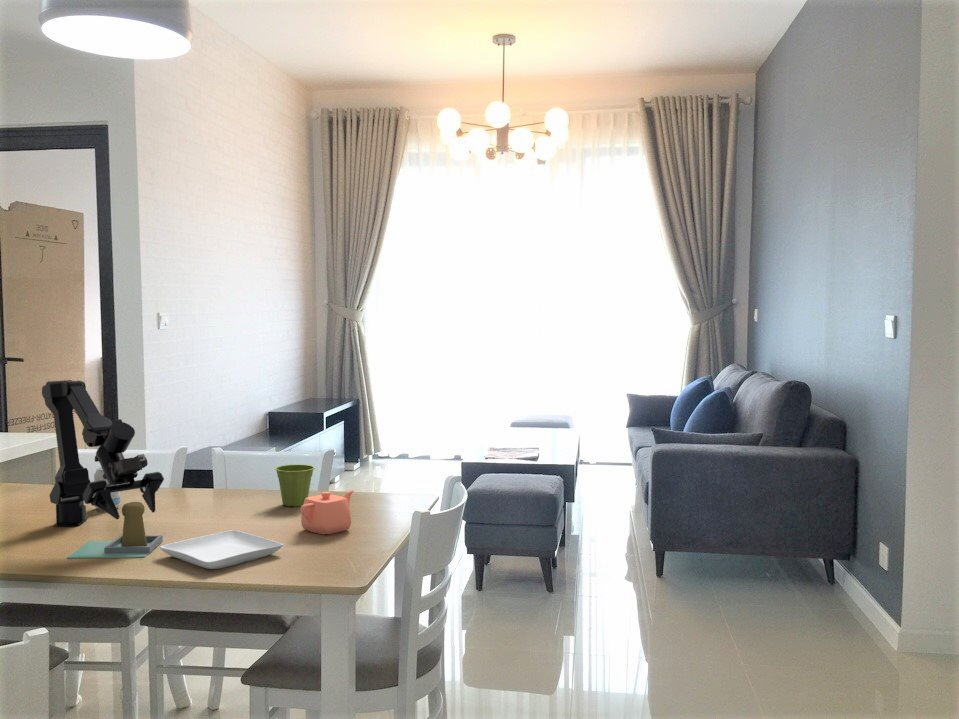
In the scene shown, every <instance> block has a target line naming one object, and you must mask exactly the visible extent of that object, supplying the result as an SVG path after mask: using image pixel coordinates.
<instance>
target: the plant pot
mask: <svg viewBox="0 0 959 719" xmlns="http://www.w3.org/2000/svg"><path fill="white" fill-rule="evenodd" d="M315 469H316V467H315V466H313V465H311V464H285V465H278V466H276V467H274V470H275V471H276V474H277V479H278V484H279V488H280V489H279V490H280V496H281V501H282V505H283V506H284V505H285V506H287V507H290V506H294V507H296V506H298V507H301V506H302V505H304V501H305V498H307V497H309V495H310V488H311V482H312V477H313V474H314V473H313V472H314V470H315Z"/></svg>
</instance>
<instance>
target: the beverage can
mask: <svg viewBox="0 0 959 719" xmlns="http://www.w3.org/2000/svg"><path fill="white" fill-rule="evenodd" d="M103 474H104V471H103V469H102V467H101V466H100V467H97V468H96V470H95V472H94V474H93V482H94V481H101V480H104V481H106V483H107V485H109V483H108V481H107V479H104V478H103ZM111 498H112V500H113V502H114V504H115V506H116V508H117V509H118V507H119V506H120V505H121V492H112V493H111ZM94 508H96V509H98V511H104V510H102V509H101V508H99V507H97V506H94ZM104 512H105V511H104Z"/></svg>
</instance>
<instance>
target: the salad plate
mask: <svg viewBox="0 0 959 719" xmlns="http://www.w3.org/2000/svg"><path fill="white" fill-rule="evenodd" d="M283 546H284V543H281V542H280V541H279V542H278V541H275V540H272V539H269V538H266V537H263V536H259V535H256V534H252V533H248V532H245V531H241V530H236V529H230V530H225V531H221V532H215V533H211V534H207V535H202V536H201V535H200V536H196V537H192V538H188V539H187V538H186V539H183V540H180V541H176V542H171V543H166V544H163V545H160V546H159V548H160V550H161V551H162V552H163V553H165V554H166V555H169V556H171V557H173V558H176V559H179V560H181V561H184V562H186V563H189V564H192V565H194V566H198V567H201V568H204V569H207V570H208V569H209V570H219V569H223V568H228V567H232V566H236V565H240V564H242V563H246V562H247V563H248V562H251V561H255V560H257V559H258V560H259V559H260V558H264V557H267V556H270V555H272V554H275V553H276V552H278V551H279V550H281V549H282V547H283Z"/></svg>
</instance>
